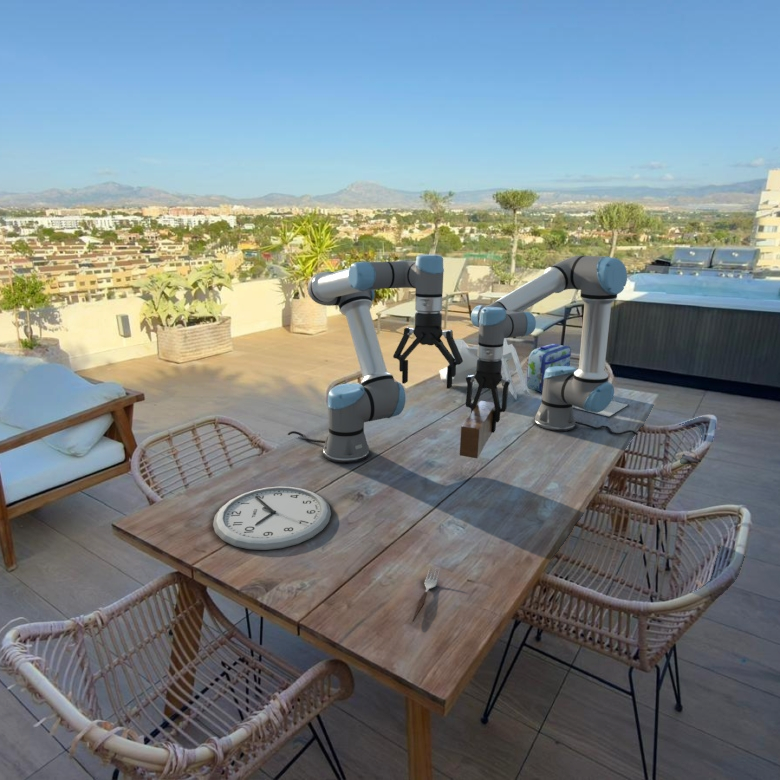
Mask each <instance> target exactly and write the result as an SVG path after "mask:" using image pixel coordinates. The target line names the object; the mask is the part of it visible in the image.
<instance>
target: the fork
mask: <svg viewBox="0 0 780 780" xmlns="http://www.w3.org/2000/svg"><path fill="white" fill-rule="evenodd" d="M437 569H438V567H436V568H435V571H434V566H432V570H431V565H429V568H428V572H427V574H426V577H425V580H424V586H425V591H424V592H423V594H422V595H421V597H420V598H419V600H418V602H417V606H416V608H415V612H414V614H413V618H412V623H413V622H414V621H415V620H416V618H417V616H418V615H419V613H420V611H421V610H422V609H423V607H424V605H425V603H426V598H427V596H428V591H429V590H430V589H433V588H435V587H436V586H438V585H437V584H438V580H439V576H440V570H441V568H440V567H439V569H438V572H437ZM430 571H431V573H430ZM433 573H434V574H433ZM436 573H437V575H436Z"/></svg>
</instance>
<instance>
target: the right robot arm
mask: <svg viewBox="0 0 780 780" xmlns="http://www.w3.org/2000/svg"><path fill="white" fill-rule="evenodd" d="M627 281H628V271H627V268H626V265H625V264H624V262H623V261H622V260H621V259H619V258H617V257H611V256H601V255H599V256H598V255H584V254H582V255H581V254H580V255H574V256H571V257H568V258H565V259H563V260H561V261H558V262H556V263H554V264H552V265H551V266H549V267H547V268H546V269H545V270H544V272H543V274H541V275H539V276H538V277H535V278H534V279H532V280H530V281H529V282H526V283H525V284H523V285H521V286H520V287H518V288H516V289H515V290H513V291H511V292H509V293H508V294H506V295H503V296H502V297H501V298H499V299H497V300H495V301H494V302H491V303H490V304H488V305H485V304H480V305H476V306H474V308H473V309H472V311H471V313H470V321H471V323H472V325H473V326H474V327H476V328H478V340H477V346H478V353H477V357H478V359H477V368H476V373H475V375H472V376H471V375H468V376H467V377H466V381H467V383H466V396H465V407H466V408H469V409H470V414H471V413H472V411H473V410H474V409H475V407H476V406H477V405H478V403H479V402H480V397H481V395H482V393H483V390H484V389H488V390H490V392H491V394H492V401H493V403H494V406H495V411H494V412H493V420H492V434H494V433H495V432H496V430H497V429H496V428H497V423H500V419H501V413H505V412H506V411H507V409H508V398H509V397H508V394H509V387H508V386H509V384H510V380H506V378H503V375H502V368H503V367H502V361H501V359H502V355H503V343H504V338H506V339H510V338H517V337H521V338H522V337H525V336H529V335H531V334H533V333H534V331H535V329H536V325H537V321H536V318H535V315H534V314H533V313H532V312H530V311H526V310H528V309H529V308H531V307H533V306H534V305H536V304H538V303H539V302H542V300H544V299H547V298H548V297H550V296H551V295H553V294H560V293H562V292H563V291H567V290H579V291H580V299H581V300H582V301H583V302H584V303H583V305H584V306H583V314H582V315H583V317H582V328H581V339H580V348H579V349H580V350H579V362H578V368H577V367H574V366H571V365H570V366H555V367H549V368H547V369H546V370H545V375H544V378H543V379H544V380H543V391H542V393H541V402H540V405H539V407H538V410H537V411H536V413H535V417H534V424H535V425H536V426H537V427H539V428H542V429H544V430H549V431H556V432H567V431H572V430H574V429H575V428H576V425H580V426H584V427H587V428H590V429H593V430H601V429H603V428H604V429H607V430H608V432H609V433H610V434H612V435H615V436H616V435H617V436H620V435H625V434H628V433H629V434H630V433H632V434H634V435H636V436H638V435H639V433H637V432H636V431H635V430H632V429H628V430H625V431H622V432H621V431H620V432H615V431H613V430H612V429H611V428H610V427H609V426H608V425H600V426H593V425H591V424H587V423H584V422H581V421H576V418H575V417H576V416H575V413H574V407H579V408H582V409H584V410H586V411H585V412H588V411H591V412H590V413H592V412H595V413H594V414H596V413H597V412H601V411H603V410H604V409H605V408H606V407H607V406H608V405H609V404H610V402H611V401H613V398H614V396H615V387H614V385H613V384H612V383H611V382H610V381H609V374H608V372H607V371H606V370H605V369H606V367H605V366H606V359H607V358H606V357H607V350H608V340H609V338H608V337H609V329H610V321H611V311H612V304H613V302H614V301H615V300H617V299H618V294H620V293H622V292H623V291H624V289H625V287H626V285H627ZM474 379H476V381H477V384H478V386H477V390H476V393H475V395H474V398H473V385H474ZM500 383H501V386H502V394H501V395H502V396H501V403H500V397H499V391H498V385H499V384H500ZM472 398H473V399H472ZM573 406H574V407H573ZM584 410H583V411H584Z"/></svg>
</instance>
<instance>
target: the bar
mask: <svg viewBox="0 0 780 780" xmlns="http://www.w3.org/2000/svg"><path fill="white" fill-rule="evenodd" d="M494 411H495V406H494V401H493V402H492V401H486V400H485V401H484V400H479V401H478V403H477V406H476V407H475V409H474V410H473V411H472V413H471V412H470V414H469V415H468V417H467V418H466V419H465V421H464V422H463V423H462V425H461V426H460V440H459V441H460V442H459V456H460V457H461V456H462V457H467V458H471V459H472V458H474V459H478V458H479V456H480V455H481V453H482V452H483V449H484V448H485V446H486V444H487V442H488V441H489V439H490V437H491V435H492V434H493V433H492V420H493V412H494Z"/></svg>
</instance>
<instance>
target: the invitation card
mask: <svg viewBox="0 0 780 780" xmlns="http://www.w3.org/2000/svg"><path fill="white" fill-rule="evenodd" d="M628 406H629V404H627V403H623V402H618V401H614V400H611V402H610V404H609V405H608V406H607V407H606V408H605V409H604V410H603V411H601V412H597V413H595V412H591V411H586V410H584V409H582V408H579V407H576V406H574V407H573V409H575V410H581V411H584V412H587V413H593V414H596V415H600V416H604V417H608V418H609V417H611V416H613V415H614V414H616V413H617V412H619V411H621V410H623V409H624V408H626V407H628Z"/></svg>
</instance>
